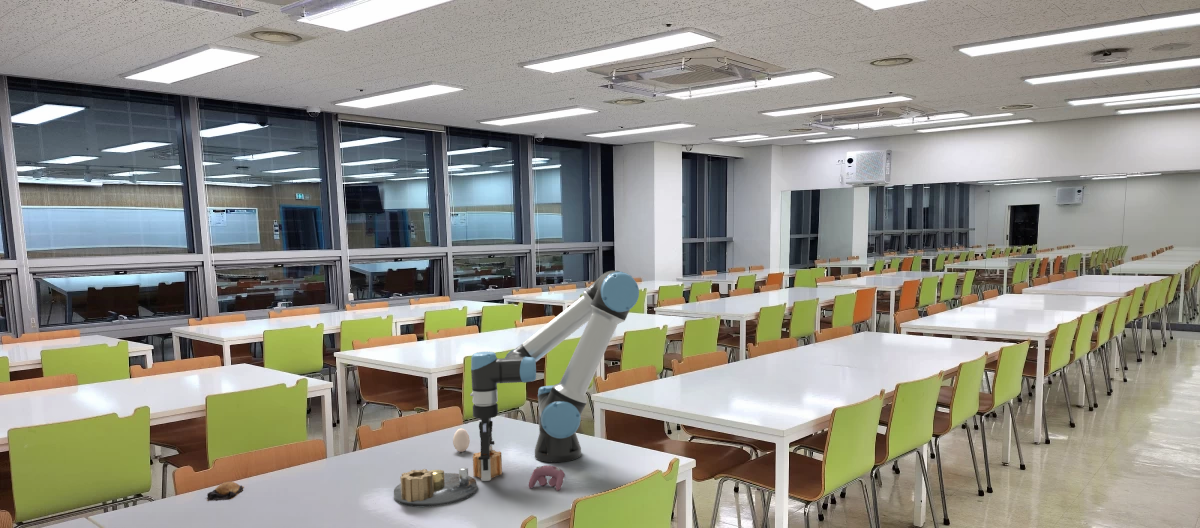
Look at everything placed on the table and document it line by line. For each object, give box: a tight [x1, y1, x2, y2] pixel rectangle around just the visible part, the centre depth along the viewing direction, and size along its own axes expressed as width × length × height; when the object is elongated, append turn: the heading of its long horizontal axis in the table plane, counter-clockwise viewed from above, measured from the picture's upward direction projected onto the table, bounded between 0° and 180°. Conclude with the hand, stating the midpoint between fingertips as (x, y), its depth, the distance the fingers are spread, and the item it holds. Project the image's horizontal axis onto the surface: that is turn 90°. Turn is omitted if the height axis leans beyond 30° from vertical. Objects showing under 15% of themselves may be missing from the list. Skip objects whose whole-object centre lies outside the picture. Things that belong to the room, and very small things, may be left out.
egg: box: [452, 428, 471, 453], centre depth 245 cm, size 6×6×8 cm
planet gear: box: [472, 449, 503, 479], centre depth 221 cm, size 8×8×6 cm
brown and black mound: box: [206, 481, 245, 502], centre depth 211 cm, size 11×8×4 cm
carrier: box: [393, 467, 478, 508], centre depth 207 cm, size 23×23×8 cm
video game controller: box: [528, 465, 566, 492], centre depth 209 cm, size 10×5×7 cm, turn 71°
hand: (487, 473), depth 222 cm, fingers open, 12 cm apart
